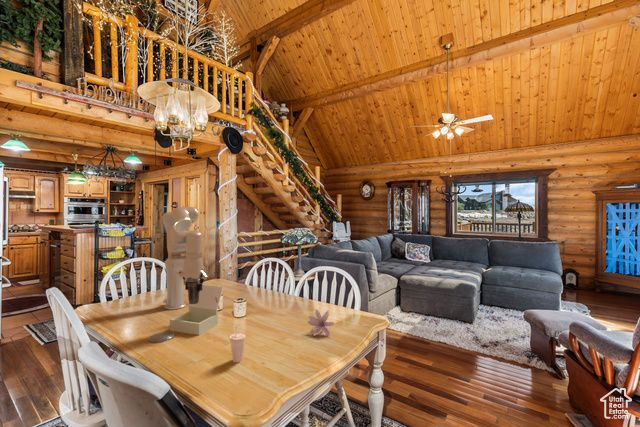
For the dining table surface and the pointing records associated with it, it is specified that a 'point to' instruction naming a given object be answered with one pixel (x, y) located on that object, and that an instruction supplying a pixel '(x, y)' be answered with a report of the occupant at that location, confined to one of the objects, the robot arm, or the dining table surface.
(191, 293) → the beverage cup
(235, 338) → the smoothie
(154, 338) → the coaster
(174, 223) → the robot arm
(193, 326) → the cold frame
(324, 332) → the water lily
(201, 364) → the dining table surface
